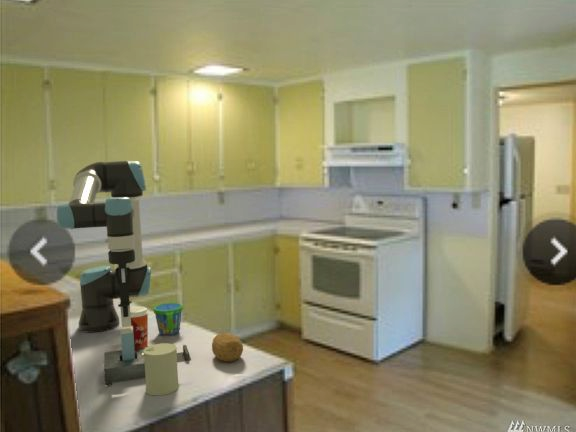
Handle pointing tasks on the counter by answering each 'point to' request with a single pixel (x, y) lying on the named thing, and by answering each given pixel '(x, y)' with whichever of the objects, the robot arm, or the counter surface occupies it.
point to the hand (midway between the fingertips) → (126, 326)
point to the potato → (227, 347)
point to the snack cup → (168, 318)
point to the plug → (127, 343)
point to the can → (161, 369)
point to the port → (123, 366)
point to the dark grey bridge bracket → (183, 355)
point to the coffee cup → (139, 326)
